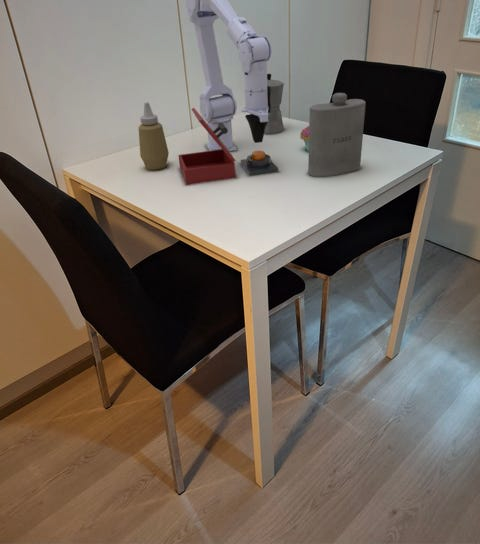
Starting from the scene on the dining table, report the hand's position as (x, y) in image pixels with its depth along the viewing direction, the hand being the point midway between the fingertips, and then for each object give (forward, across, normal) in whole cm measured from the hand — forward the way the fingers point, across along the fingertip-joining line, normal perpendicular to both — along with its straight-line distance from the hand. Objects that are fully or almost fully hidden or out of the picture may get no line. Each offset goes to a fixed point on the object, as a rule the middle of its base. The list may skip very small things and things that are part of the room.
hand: (258, 141), depth 131 cm
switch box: (+7, 0, 0) cm, 7 cm away
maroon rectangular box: (+7, -2, -14) cm, 16 cm away
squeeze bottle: (+8, -12, -28) cm, 31 cm away
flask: (+8, +10, +18) cm, 22 cm away
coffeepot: (+8, -31, +12) cm, 34 cm away
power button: (+5, 0, 0) cm, 5 cm away
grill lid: (-3, -1, -12) cm, 13 cm away
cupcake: (+8, -8, +20) cm, 22 cm away
